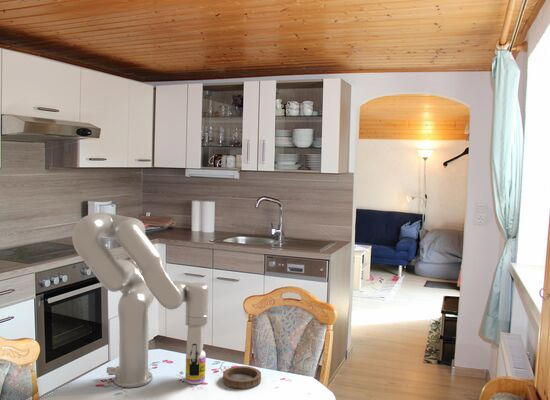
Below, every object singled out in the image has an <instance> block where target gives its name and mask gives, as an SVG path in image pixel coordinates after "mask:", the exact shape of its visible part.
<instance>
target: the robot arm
mask: <svg viewBox="0 0 550 400" xmlns="http://www.w3.org/2000/svg"><path fill="white" fill-rule="evenodd" d="M103 237H104V238H110V239H115V240H116V241H117V242H118V244H119V245H120V247H121V248H122V250H124V252H126V255H128V256H129V258H130V259H131V260H132V262H133V263H134V264H135V265H136V266H135V265H134V264H133V263H132V262H130V261H129V260H127V259H121V258H120V259H117V258H116V257H115V256H114V254H113V253H112V251H111V250H110V249H109V248H108V247H107V246H106V245H104V243H103V242H102V241H101V238H103ZM71 239H72V245H73V247H74V250H75V251H76V253H77V255H78V256H79V257H80V258H81V259H82V261H83V262H84V263H85V264H86V266H87V267H88V268H89V270H90V271H91V272H92V273H93V275H94V277H96V278H97V280H98V281H99V282H100V284H101V285H102V286H103V287H104V289H106V290H108V291H109V292H111V293H116V292H119V291H120V292H121V297H120V299H119V300H118V301H119V302H118V305H117V312H118V322H119V324H118V325H119V329H118V331H119V332H118V333H119V338H118V339H119V340H118V343H119V344H118V346H119V348H118V349H119V351H118V355H119V357H118V366H117V365H116V367H114V366H107V367H106V374H107V376H114V377H113V380H114V381H113V382H114V384H115V385H117V386H118V387H121V388H122V387H123V388H138V387H142V386H146V385H147V384H149V383H151V382H152V380H153V374H152V372H151V371H149V338H150V337H149V335H150V334H149V331H150V330H149V329H150V327H149V313H148V312H149V309H150V306H151V305H152V303H153V302H154V298H155V299H156V301H157V302H158V304H160V305H161V306H162V307H163V308H165V309H167V310H176V309H178V308H179V307H180V306H181V305H182V304H183V303H185V323H184V324H185V326H187V333H186V334H187V335H186V352H185V353H186V354H185V356H186V355H187V356H188V355H190V353H191V355H190V369H189V375H190V376H198V375H199V356H200V355H201V352H202V350H203V349H202V347H203V348H204V341H205V327H206V326H207V325H208V324H209V286H208V284H206V283H203V282H187V281H182V280H181V281H179V280H173V281H172V280H171V279H170V277H169V275H168V273H167V272H166V270H165V268H164V266H163V265H164V264H163V261H162V256H161V253H160V251H159V250H158V249H157V247H156V246H155V245H154V244H153V243H152V241H151V240H150V239H149V237H148V236H147V234H146V226H145V224H144V223H143V221H141V220H140V219H139V218H136V217H130V216H124V215H119V214H114V213H111V212H110V213H109V212H95V213H92V214H88V215H86V216H82V218H80V220H78V222H76V225H75V226H74V228H73V231H72V237H71ZM137 268H138V269H137ZM196 347H197V348H196ZM196 353H198V354H196ZM196 357H197V359H196Z"/></svg>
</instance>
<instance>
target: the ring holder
mask: <svg viewBox="0 0 550 400" xmlns="http://www.w3.org/2000/svg"><path fill="white" fill-rule="evenodd" d="M222 382H223V384H224V385H225V386H226V387H228V388H230V389H235V390H250V389H254V388H256V387H258V386H259V385H260V384H261V382H262V373H261V371H260V370H259V369H258V368H256V367H253V366H247V365H246V366H245V365H242V366H241V365H238V366H232V367H229V368H226V369H225V370H224V371H223V373H222Z"/></svg>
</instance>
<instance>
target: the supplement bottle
mask: <svg viewBox="0 0 550 400" xmlns="http://www.w3.org/2000/svg"><path fill="white" fill-rule="evenodd" d="M196 348H197V347H196ZM203 348H204V346H203V347H202V352H201V355H200V356H199V375H198V376H190V375H189V369H190V355H191V353H190V355H188V356H187V355H186V354H185V383H187V384H189V385H201V384H203V383H204V382H205V379H206V360H207V359H206V352H205V350H203ZM196 354H198V353H196ZM196 359H197V357H196Z"/></svg>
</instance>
